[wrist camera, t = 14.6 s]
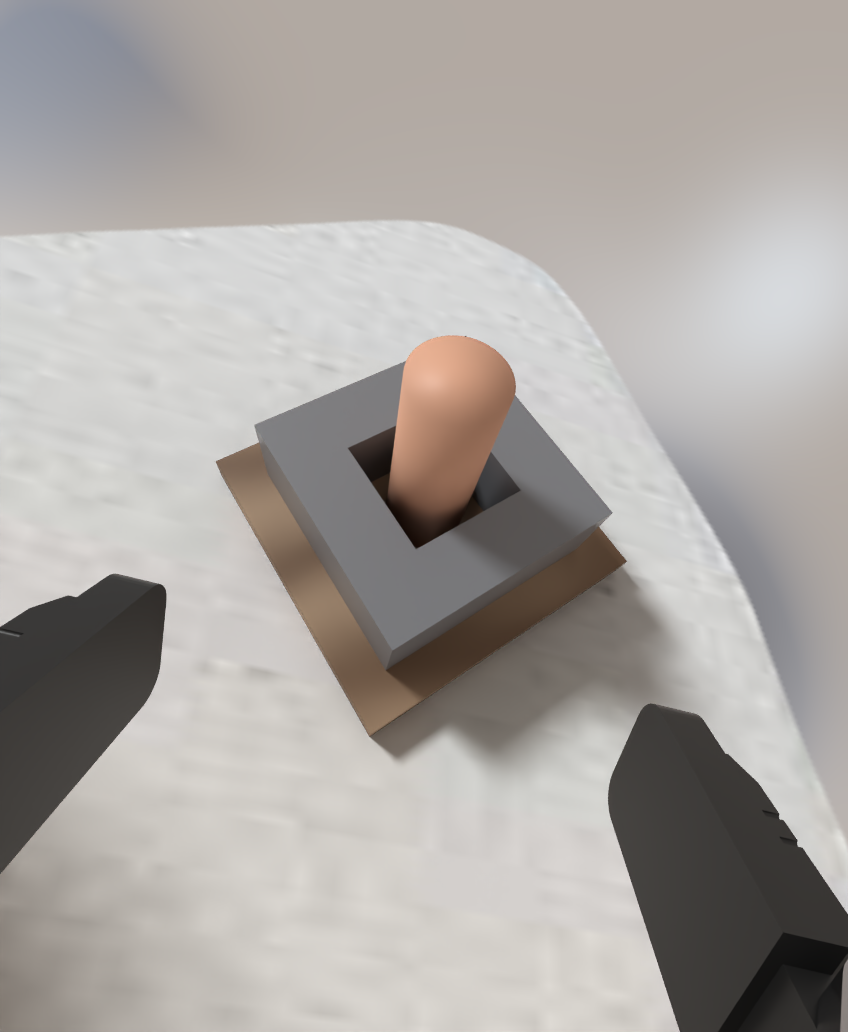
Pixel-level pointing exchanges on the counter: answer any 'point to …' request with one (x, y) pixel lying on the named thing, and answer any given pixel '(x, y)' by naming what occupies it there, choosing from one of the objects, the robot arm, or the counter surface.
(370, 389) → the socket
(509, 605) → the socket board
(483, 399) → the peg
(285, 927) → the counter surface
